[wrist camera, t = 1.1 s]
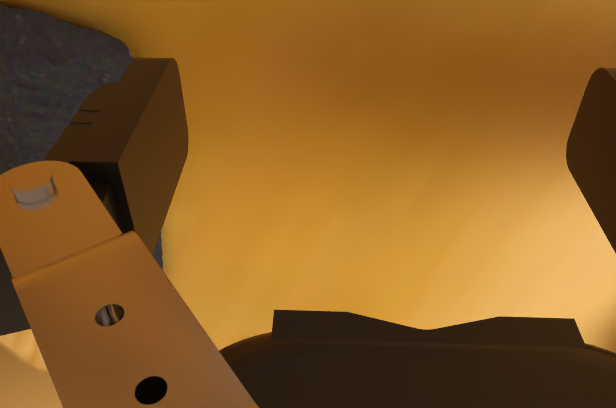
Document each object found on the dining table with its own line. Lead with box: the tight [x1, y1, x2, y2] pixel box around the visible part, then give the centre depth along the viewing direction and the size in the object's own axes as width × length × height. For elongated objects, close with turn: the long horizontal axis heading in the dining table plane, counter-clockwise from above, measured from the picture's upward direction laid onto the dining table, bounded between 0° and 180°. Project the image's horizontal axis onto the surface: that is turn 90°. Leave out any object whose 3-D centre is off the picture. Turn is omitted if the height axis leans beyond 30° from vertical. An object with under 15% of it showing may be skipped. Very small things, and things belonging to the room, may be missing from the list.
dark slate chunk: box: [0, 4, 163, 270], centre depth 33 cm, size 15×22×5 cm
